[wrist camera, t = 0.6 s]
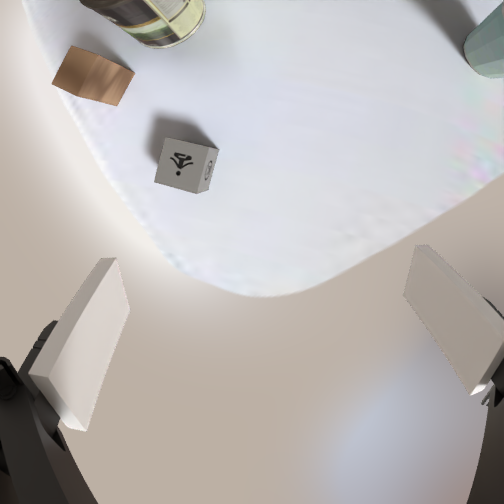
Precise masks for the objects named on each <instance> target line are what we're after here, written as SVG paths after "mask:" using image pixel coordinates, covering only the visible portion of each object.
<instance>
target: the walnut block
mask: <svg viewBox="0 0 504 504" xmlns="http://www.w3.org/2000/svg"><path fill="white" fill-rule="evenodd" d="M134 75H135V73H134V72H132V71H130V70H128V69H126V68H124V67H122V66H120V65H118V64H116V63H114V62H112V61H110V60H108V59H106V58H104V57H102V56H100V55H97V54H94V53H92V52H89V51H86V50H83V49H80V48H77V47H74V46H71V47H70V49H69V51H68V53H67V54H66V56H65V58H64V60H63V62H62V64H61V66H60V68H59V70H58V72H57V74H56V76H55V78H54V80H53V82H52V85H55V86H57V87H59V88H61V89H63V90H65V91H67V92H69V93H71V94H73V95H75V96H78V97H82V98H87V99H91V100H95V101H99V102H103V103H106V104H110V105H114V106H117V105H118V104H119V102H120V100H121V98H122V96H123V94H124V92H125V90H126V89H127V87H128V85H129V83H130V82H131V80H132V78H133V76H134Z"/></svg>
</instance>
